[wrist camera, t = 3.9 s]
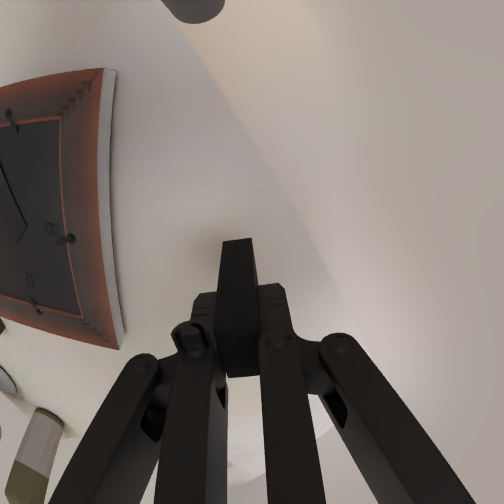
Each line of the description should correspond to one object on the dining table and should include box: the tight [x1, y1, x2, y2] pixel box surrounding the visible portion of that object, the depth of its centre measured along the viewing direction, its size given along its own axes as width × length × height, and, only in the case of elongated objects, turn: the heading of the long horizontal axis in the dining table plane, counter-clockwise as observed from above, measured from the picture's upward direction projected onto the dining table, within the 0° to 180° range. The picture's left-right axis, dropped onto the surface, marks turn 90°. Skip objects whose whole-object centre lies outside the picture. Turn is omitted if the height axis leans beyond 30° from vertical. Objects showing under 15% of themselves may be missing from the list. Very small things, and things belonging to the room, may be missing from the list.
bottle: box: [5, 409, 64, 504], centre depth 22 cm, size 7×7×30 cm
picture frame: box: [0, 68, 125, 350], centre depth 17 cm, size 16×2×22 cm
